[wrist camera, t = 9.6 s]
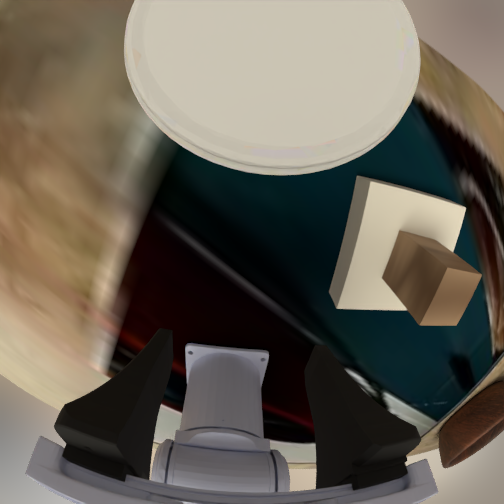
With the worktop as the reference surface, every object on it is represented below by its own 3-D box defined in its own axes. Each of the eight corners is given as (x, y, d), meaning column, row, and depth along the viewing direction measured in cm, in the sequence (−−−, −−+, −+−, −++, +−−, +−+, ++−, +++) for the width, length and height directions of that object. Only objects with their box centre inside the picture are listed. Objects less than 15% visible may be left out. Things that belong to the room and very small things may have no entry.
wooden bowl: (471, 425, 45) (483, 449, 36) (412, 448, 44) (424, 479, 34) (522, 364, 35) (540, 389, 26) (473, 383, 33) (496, 420, 24)
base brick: (415, 293, 24) (429, 310, 21) (327, 288, 23) (336, 308, 20) (446, 198, 20) (466, 207, 17) (354, 174, 19) (370, 181, 16)
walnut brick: (417, 283, 20) (456, 325, 14) (381, 278, 19) (419, 325, 14) (435, 239, 18) (481, 274, 13) (399, 230, 18) (447, 267, 12)
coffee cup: (348, 118, 17) (466, 115, 6) (233, 176, 19) (214, 239, 8) (285, 13, 13) (326, -89, 3) (168, 69, 15) (76, 7, 4)
